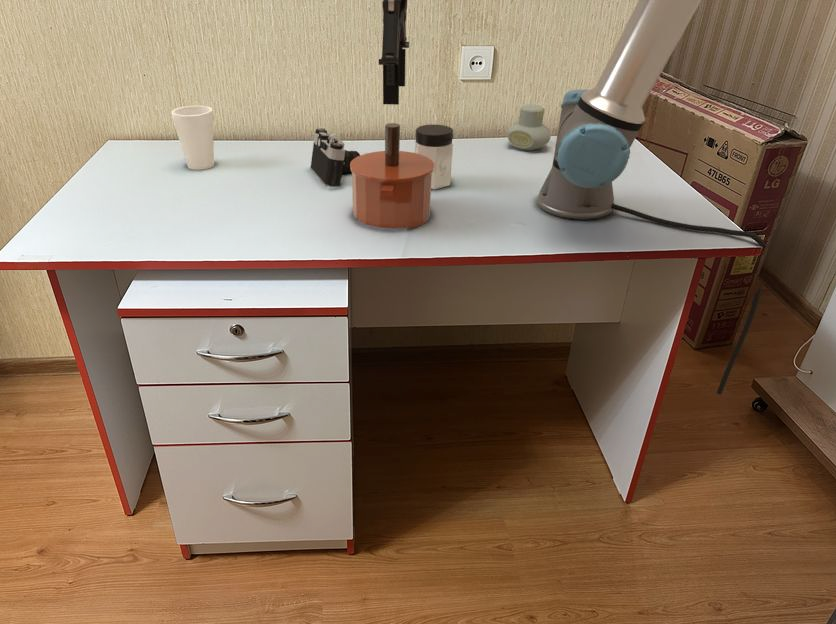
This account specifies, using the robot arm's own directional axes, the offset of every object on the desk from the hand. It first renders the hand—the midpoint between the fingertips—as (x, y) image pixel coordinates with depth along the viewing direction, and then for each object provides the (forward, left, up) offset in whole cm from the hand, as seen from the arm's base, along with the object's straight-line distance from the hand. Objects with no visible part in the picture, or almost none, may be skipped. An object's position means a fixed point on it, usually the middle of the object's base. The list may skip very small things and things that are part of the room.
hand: (394, 94), depth 117 cm
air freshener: (+2, -57, -24) cm, 62 cm away
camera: (+24, -9, -24) cm, 35 cm away
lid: (0, 0, -14) cm, 14 cm away
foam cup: (+55, +8, -24) cm, 61 cm away
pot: (0, 0, -24) cm, 24 cm away
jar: (+5, -20, -24) cm, 31 cm away
